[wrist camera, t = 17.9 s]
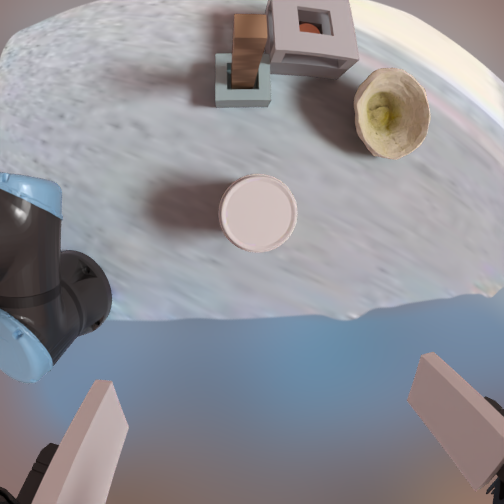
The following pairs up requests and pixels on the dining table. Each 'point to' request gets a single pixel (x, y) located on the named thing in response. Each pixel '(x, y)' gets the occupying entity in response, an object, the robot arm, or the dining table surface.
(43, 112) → the dining table surface
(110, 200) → the dining table surface
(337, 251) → the dining table surface
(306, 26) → the button
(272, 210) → the coffee cup
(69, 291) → the robot arm
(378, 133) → the bowl
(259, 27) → the brown wooden bar
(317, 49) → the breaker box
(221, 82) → the holder
